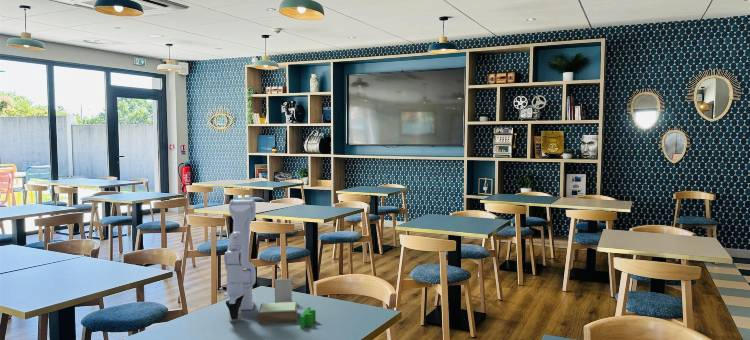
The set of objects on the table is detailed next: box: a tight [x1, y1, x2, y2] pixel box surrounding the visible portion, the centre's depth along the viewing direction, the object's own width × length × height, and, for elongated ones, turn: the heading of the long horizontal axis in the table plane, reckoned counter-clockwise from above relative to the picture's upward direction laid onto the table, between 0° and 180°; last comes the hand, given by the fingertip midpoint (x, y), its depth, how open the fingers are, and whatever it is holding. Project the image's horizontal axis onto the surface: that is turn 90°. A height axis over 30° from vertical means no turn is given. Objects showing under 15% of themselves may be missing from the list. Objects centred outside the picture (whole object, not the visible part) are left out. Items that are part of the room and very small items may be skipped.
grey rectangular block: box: [274, 278, 293, 303], centre depth 225 cm, size 4×7×10 cm, turn 95°
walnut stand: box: [257, 301, 298, 324], centre depth 206 cm, size 11×14×4 cm
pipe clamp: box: [299, 306, 317, 330], centre depth 200 cm, size 11×4×5 cm, turn 173°
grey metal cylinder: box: [228, 306, 242, 324], centre depth 203 cm, size 4×4×5 cm
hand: (235, 316), depth 203 cm, fingers closed on grey metal cylinder, 4 cm apart
